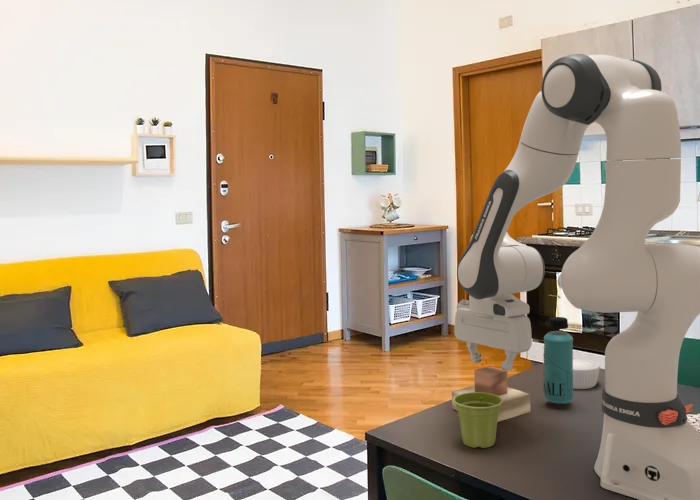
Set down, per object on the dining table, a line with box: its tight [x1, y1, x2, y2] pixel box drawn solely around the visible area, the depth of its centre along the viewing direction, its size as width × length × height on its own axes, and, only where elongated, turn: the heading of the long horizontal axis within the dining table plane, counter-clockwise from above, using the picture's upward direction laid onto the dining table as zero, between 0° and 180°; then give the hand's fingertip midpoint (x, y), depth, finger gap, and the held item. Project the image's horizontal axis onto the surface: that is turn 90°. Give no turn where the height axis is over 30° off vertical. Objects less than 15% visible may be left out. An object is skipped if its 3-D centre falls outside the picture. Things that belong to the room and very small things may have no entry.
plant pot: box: [453, 392, 503, 449], centre depth 125 cm, size 9×9×9 cm
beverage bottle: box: [542, 316, 574, 404], centre depth 144 cm, size 6×7×20 cm
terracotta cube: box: [473, 365, 508, 396], centre depth 143 cm, size 5×5×5 cm
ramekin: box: [573, 357, 601, 390], centre depth 160 cm, size 11×11×5 cm
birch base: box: [451, 385, 531, 423], centre depth 143 cm, size 12×12×4 cm
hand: (491, 365), depth 142 cm, fingers open, 8 cm apart
